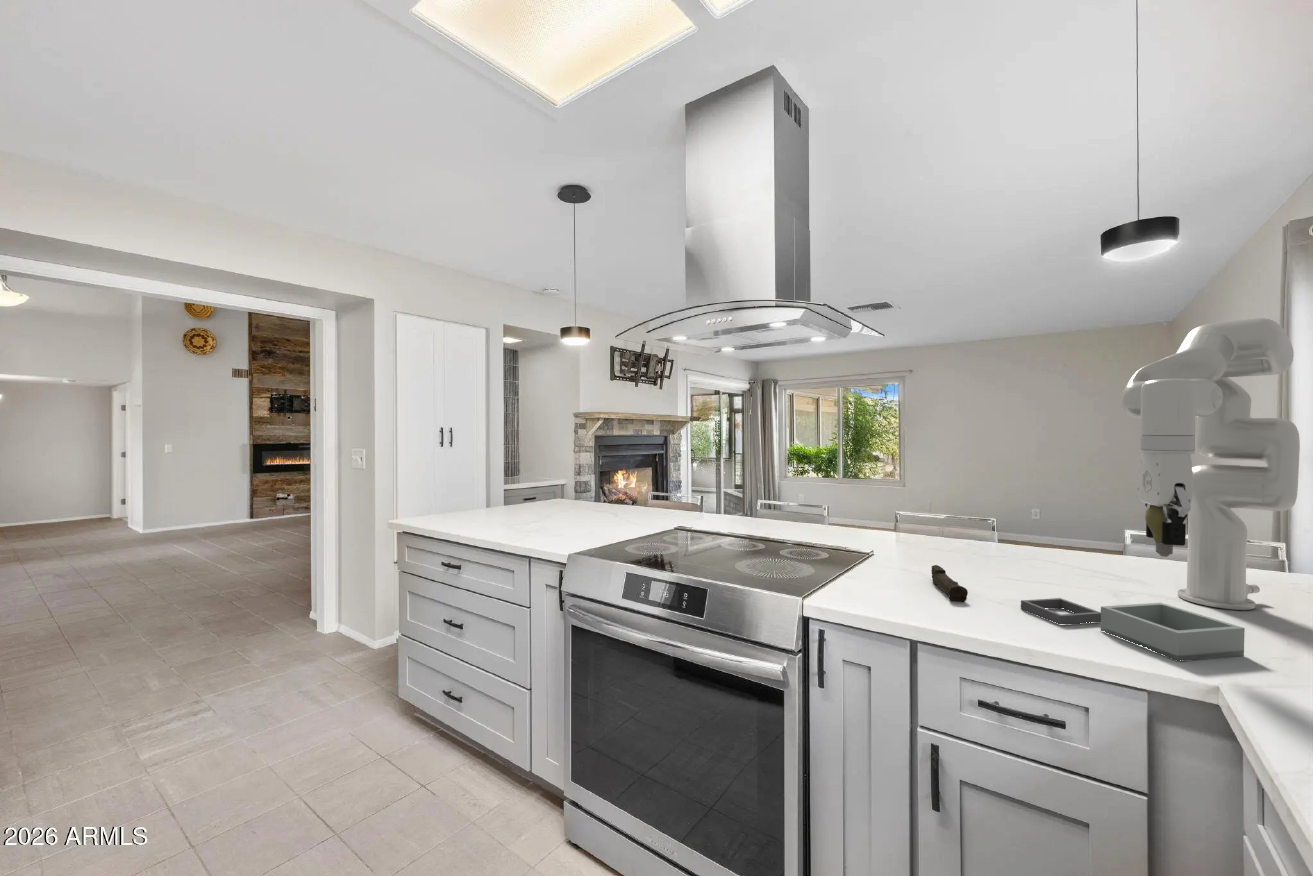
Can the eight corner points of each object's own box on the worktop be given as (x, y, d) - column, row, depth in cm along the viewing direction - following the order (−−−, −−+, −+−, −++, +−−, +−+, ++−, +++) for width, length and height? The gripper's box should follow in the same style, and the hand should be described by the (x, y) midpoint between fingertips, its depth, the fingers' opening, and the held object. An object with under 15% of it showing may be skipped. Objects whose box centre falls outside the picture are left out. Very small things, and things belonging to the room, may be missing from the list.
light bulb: (1184, 555, 104) (1185, 503, 103) (1185, 561, 99) (1186, 506, 99) (1144, 551, 107) (1145, 500, 107) (1144, 556, 103) (1145, 503, 103)
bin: (1159, 627, 111) (1160, 602, 111) (1243, 655, 97) (1244, 628, 97) (1100, 631, 109) (1100, 606, 109) (1177, 661, 95) (1178, 633, 95)
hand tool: (968, 604, 126) (968, 584, 126) (949, 602, 127) (949, 583, 127) (944, 581, 145) (945, 563, 145) (928, 580, 146) (928, 563, 146)
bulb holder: (1060, 606, 123) (1060, 597, 123) (1102, 622, 114) (1102, 613, 114) (1020, 609, 122) (1020, 600, 122) (1060, 625, 112) (1060, 616, 112)
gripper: (1122, 443, 112) (1121, 531, 113) (1163, 447, 96) (1161, 549, 97) (1169, 443, 109) (1167, 533, 110) (1219, 447, 93) (1217, 553, 94)
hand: (1164, 540), depth 103 cm, fingers closed on light bulb, 5 cm apart
